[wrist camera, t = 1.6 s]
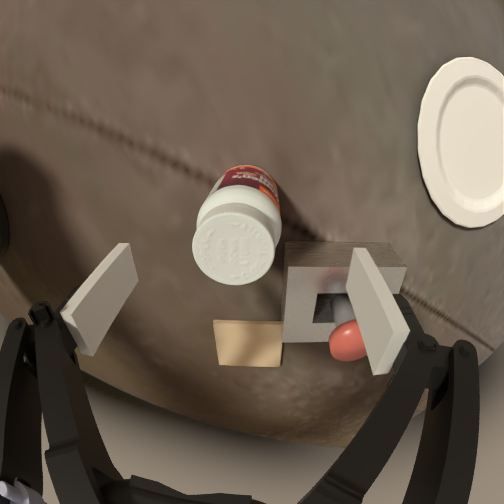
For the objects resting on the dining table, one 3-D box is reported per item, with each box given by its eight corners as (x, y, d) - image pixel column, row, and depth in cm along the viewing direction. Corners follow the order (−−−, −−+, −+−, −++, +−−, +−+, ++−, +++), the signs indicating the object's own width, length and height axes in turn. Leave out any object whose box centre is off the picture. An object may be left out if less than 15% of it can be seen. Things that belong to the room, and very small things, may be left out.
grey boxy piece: (280, 313, 34) (281, 343, 30) (285, 240, 29) (288, 266, 25) (370, 312, 33) (381, 339, 29) (389, 243, 28) (407, 267, 24)
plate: (473, 250, 28) (480, 256, 27) (375, 154, 24) (382, 158, 23) (535, 141, 19) (543, 144, 18) (455, 24, 15) (463, 22, 13)
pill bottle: (288, 179, 26) (303, 229, 16) (261, 232, 29) (259, 304, 19) (228, 153, 25) (202, 187, 15) (205, 209, 28) (173, 271, 18)
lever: (318, 318, 29) (326, 362, 23) (323, 285, 27) (335, 330, 21) (356, 316, 29) (369, 359, 23) (364, 285, 26) (383, 327, 21)
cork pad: (219, 361, 39) (219, 364, 39) (213, 319, 35) (213, 322, 34) (279, 363, 39) (279, 366, 38) (283, 321, 34) (284, 324, 34)
